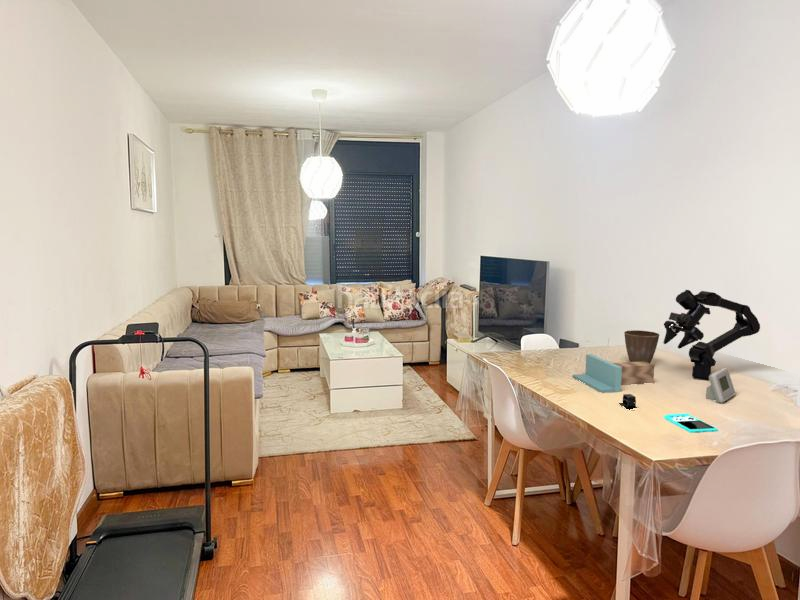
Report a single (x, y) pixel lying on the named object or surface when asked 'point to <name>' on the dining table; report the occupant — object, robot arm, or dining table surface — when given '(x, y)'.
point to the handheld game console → (689, 423)
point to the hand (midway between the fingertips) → (671, 345)
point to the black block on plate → (629, 401)
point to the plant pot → (641, 345)
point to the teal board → (601, 374)
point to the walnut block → (636, 372)
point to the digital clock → (720, 386)
